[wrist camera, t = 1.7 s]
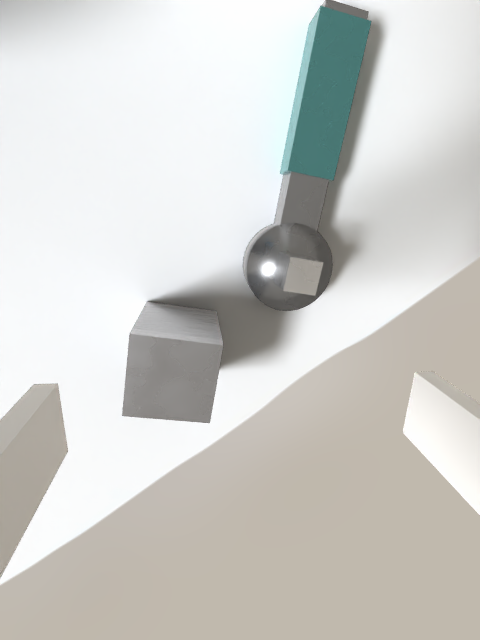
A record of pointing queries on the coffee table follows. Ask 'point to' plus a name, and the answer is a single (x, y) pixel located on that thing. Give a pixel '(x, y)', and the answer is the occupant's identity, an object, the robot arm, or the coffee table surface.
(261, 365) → the coffee table surface
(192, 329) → the grey metal block
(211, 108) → the coffee table surface
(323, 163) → the ratchet
